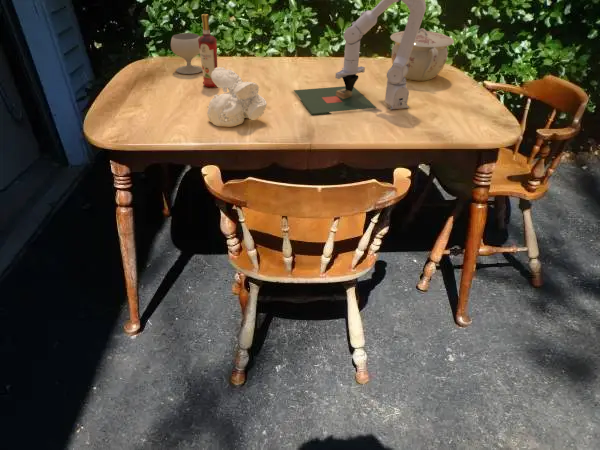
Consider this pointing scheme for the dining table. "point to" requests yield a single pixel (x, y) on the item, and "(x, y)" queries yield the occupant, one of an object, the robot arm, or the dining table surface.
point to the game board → (319, 106)
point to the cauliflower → (234, 100)
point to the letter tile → (343, 93)
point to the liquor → (207, 52)
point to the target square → (331, 99)
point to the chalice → (186, 51)
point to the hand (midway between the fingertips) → (348, 93)
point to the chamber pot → (424, 54)
